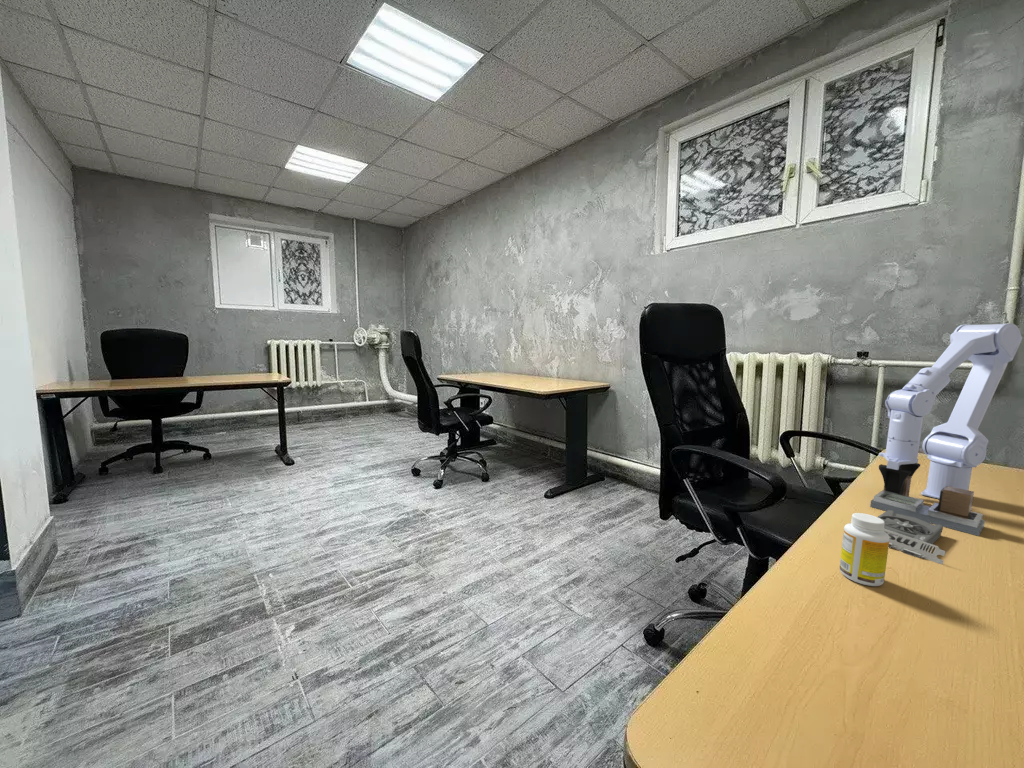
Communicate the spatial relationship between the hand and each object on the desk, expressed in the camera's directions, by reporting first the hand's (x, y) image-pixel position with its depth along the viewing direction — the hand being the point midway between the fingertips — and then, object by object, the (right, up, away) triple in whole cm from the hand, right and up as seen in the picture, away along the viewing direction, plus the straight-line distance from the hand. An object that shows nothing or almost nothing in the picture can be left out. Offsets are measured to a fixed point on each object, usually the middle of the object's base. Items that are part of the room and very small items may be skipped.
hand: (896, 492), depth 101 cm
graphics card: (-18, -4, -21) cm, 28 cm away
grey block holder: (-3, -3, -10) cm, 11 cm away
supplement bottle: (-39, -5, -35) cm, 52 cm away
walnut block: (0, -2, 0) cm, 2 cm away
